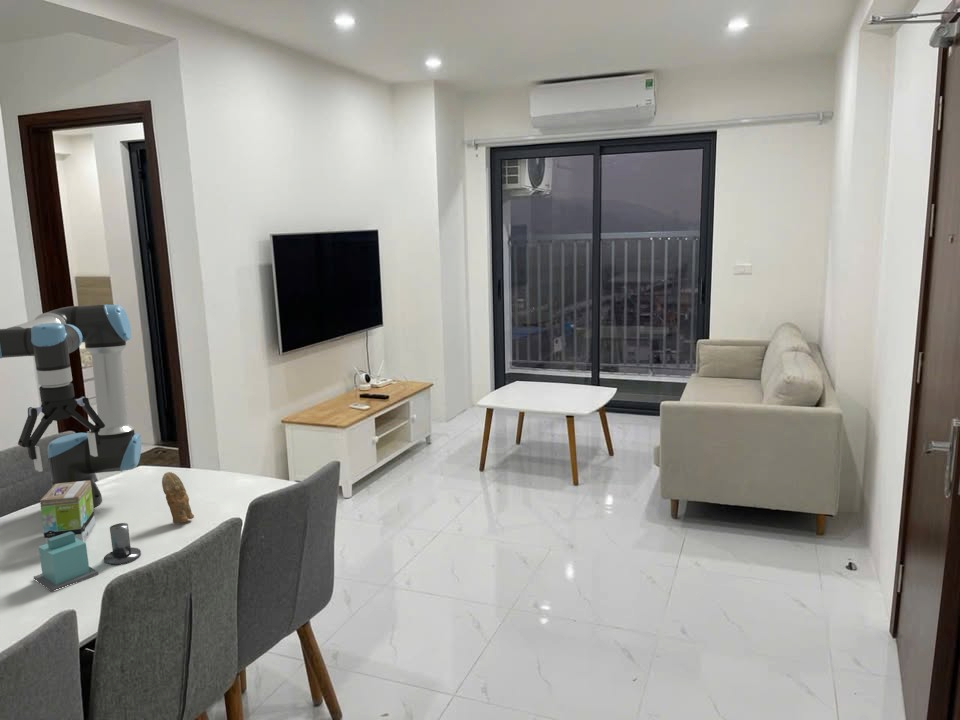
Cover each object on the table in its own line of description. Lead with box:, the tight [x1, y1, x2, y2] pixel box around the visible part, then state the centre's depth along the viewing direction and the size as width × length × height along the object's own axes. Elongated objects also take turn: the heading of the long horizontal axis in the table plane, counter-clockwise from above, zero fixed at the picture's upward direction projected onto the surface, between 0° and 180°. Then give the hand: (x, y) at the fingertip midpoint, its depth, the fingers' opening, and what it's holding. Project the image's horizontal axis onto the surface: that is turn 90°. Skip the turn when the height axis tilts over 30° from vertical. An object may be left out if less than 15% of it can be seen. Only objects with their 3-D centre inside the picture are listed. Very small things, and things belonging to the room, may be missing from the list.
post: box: [103, 522, 142, 566], centre depth 191 cm, size 9×9×9 cm
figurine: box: [161, 471, 195, 524], centre depth 215 cm, size 8×8×15 cm
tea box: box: [39, 480, 96, 545], centre depth 204 cm, size 15×10×15 cm, turn 17°
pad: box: [33, 566, 99, 592], centre depth 181 cm, size 11×11×1 cm
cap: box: [38, 531, 90, 585], centre depth 180 cm, size 8×8×10 cm
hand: (67, 462), depth 185 cm, fingers open, 13 cm apart
